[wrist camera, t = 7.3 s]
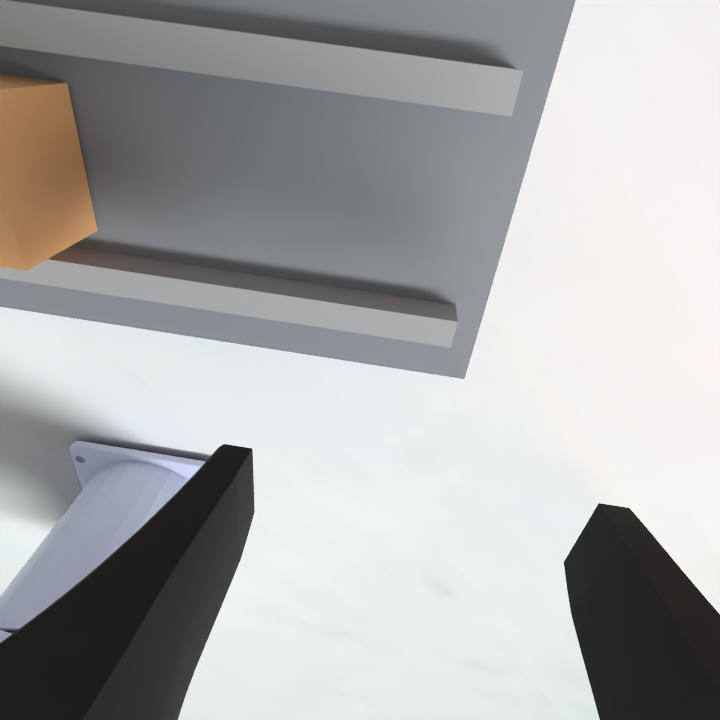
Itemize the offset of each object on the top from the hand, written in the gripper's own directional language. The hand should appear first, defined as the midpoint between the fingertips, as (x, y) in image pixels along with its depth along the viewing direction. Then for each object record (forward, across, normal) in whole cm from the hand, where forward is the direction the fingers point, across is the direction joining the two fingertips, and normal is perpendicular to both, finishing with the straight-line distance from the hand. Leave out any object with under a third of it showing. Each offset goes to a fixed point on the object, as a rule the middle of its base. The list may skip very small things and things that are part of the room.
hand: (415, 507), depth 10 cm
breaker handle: (+8, +13, -4) cm, 16 cm away
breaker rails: (+9, +10, -4) cm, 14 cm away
